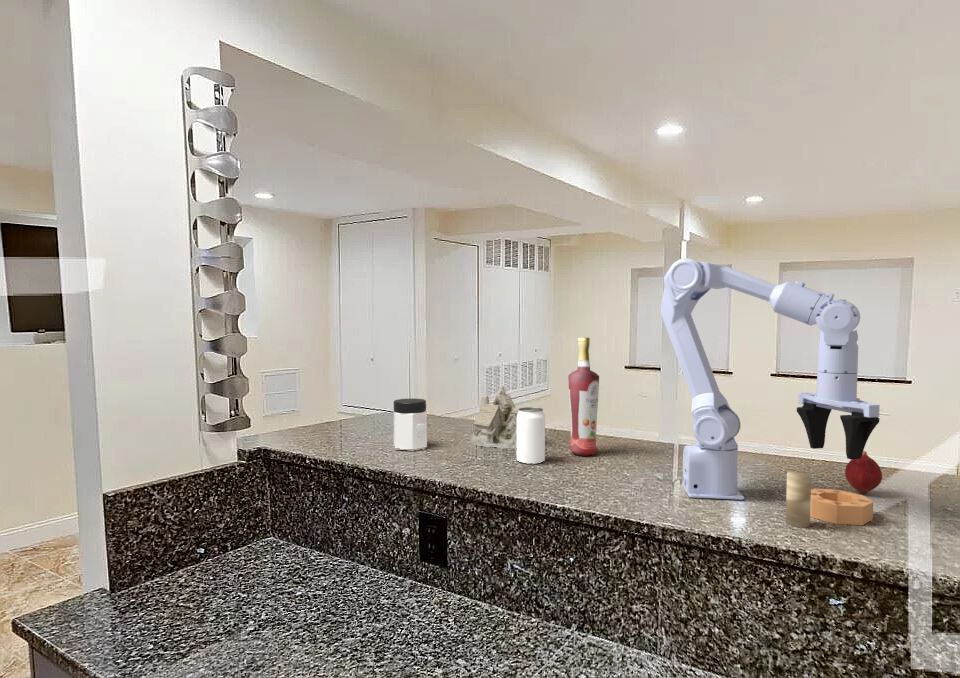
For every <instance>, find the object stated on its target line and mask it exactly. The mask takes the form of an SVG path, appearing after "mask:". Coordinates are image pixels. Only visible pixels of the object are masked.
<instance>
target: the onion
mask: <svg viewBox="0 0 960 678" xmlns="http://www.w3.org/2000/svg"><path fill="white" fill-rule="evenodd" d="M849 460H850V461H848V462H847V465H845V469H844V476H845V479H846V481H847V483H849V485H850V486H851V487H852V488H853V489H855V490H856V491H857V492H858V493H860V494H861V495H864V494H867V493H868V492H871V491H873V490H874V489H876V488H877V487H879V485H880V484H881V483H882V480H883V472H882V469H881V467H880V466H879V464H878V462H876V460H874V459H873V458H871V457H870V456H869V455H868V452H867V451H865V450H863V453H862V456H861V459H849Z"/></svg>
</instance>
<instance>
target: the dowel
mask: <svg viewBox="0 0 960 678" xmlns="http://www.w3.org/2000/svg"><path fill="white" fill-rule="evenodd" d="M811 490H812V475H811V474H810V473H806V472H803V471H788V472H786V494H785V495H786V498H785V499H786V501H785V503H786V506H785V523H787V525H788V526H790V525H791V527H793V526H794V528H798V527H800V528H799V529H805V528H806V529H807V527H808V528H810V527H811V516H810V507H811Z"/></svg>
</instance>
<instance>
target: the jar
mask: <svg viewBox="0 0 960 678" xmlns="http://www.w3.org/2000/svg"><path fill="white" fill-rule="evenodd" d="M427 415H428V414H427V400H426V399H423V398H400V399H394V400H393V421H392V422H393V447H394V446H395V448H400V449H417V448H422V447H427V448H428V425H427V424H428V420H427V419H428V417H427ZM395 448H394V449H395Z"/></svg>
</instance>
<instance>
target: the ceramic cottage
mask: <svg viewBox="0 0 960 678" xmlns="http://www.w3.org/2000/svg"><path fill="white" fill-rule="evenodd" d="M511 397H512V396H511V394H506V389H505V386H504V385H499V390H497V395H496V396H495V398H494V401H493V404H491V403H490V399H489V395H487V394H486V395H485V394H484V395H482V396H481V401H480V405H479V413H478V414H477V416H476V418H475V420H474V422H473V423H472V424H473V425H474V429H473V432H474V433H473V434H471V437H470V442H469V444H470V443H472V444H474V445H478V446H484V447H497V448H496V449H516V448H517V414H518V412H519V408H520V407H516V404H514V403H515V402H514V401H513V399H512V398H511ZM484 447H483V448H484Z"/></svg>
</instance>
